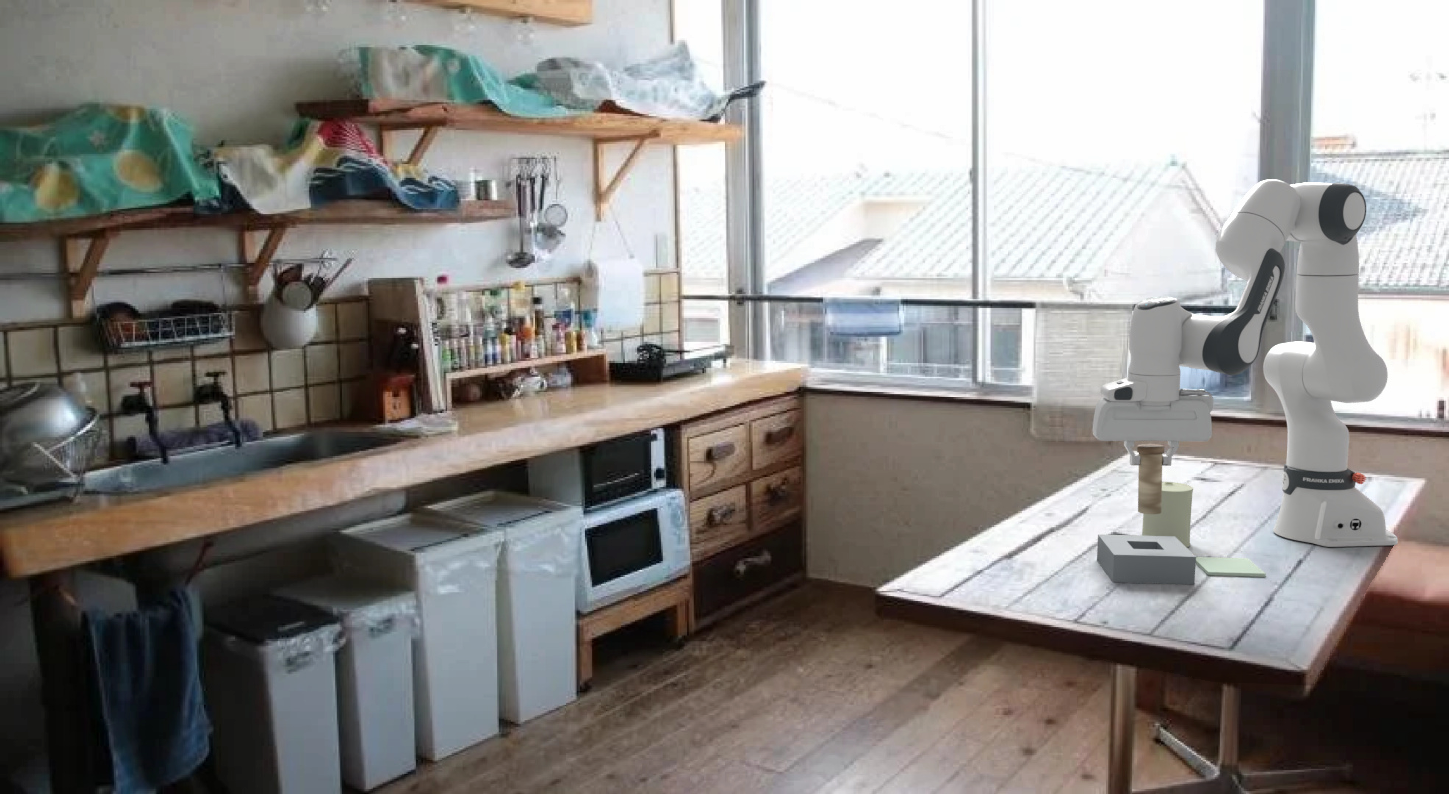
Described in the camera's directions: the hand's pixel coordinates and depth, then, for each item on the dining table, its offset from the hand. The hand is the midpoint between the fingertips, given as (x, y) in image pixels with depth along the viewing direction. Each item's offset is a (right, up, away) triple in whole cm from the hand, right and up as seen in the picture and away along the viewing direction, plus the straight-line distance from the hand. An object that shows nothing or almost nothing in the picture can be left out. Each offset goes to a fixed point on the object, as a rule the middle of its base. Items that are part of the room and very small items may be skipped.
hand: (1150, 465), depth 219 cm
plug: (0, -9, +1) cm, 9 cm away
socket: (0, -20, +3) cm, 20 cm away
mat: (+16, -19, +5) cm, 26 cm away
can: (+11, -17, +23) cm, 30 cm away
